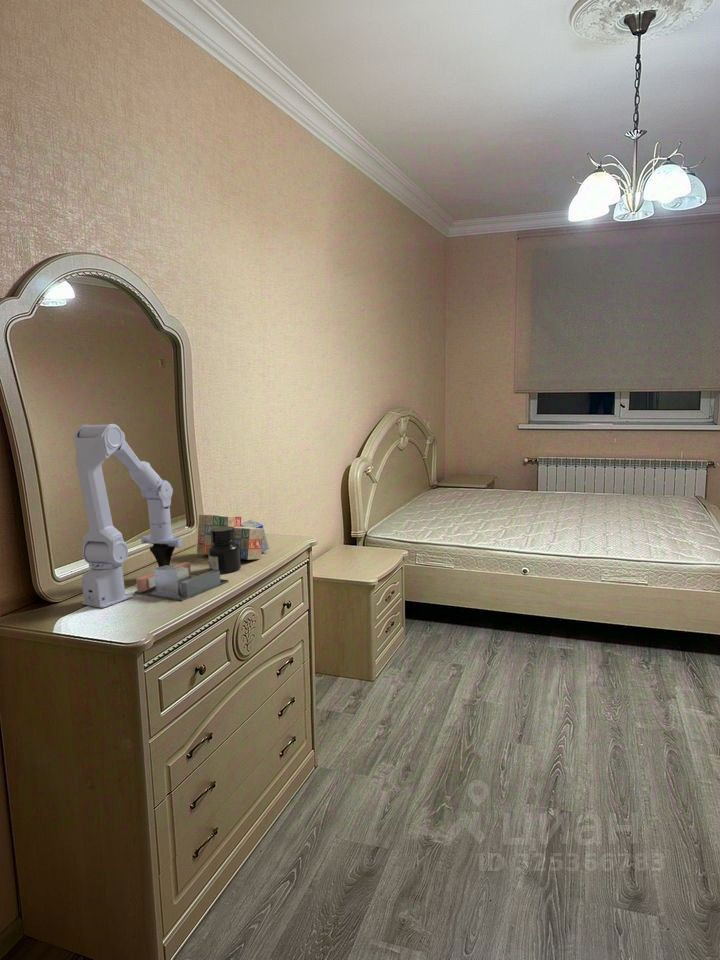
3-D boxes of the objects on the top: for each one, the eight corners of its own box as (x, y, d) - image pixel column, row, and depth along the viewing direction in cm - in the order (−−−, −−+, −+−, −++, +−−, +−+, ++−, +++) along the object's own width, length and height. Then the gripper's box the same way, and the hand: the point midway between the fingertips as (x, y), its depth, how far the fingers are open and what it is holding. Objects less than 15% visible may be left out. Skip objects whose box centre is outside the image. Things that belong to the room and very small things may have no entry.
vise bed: (181, 601, 165) (180, 585, 164) (135, 593, 173) (133, 578, 172) (228, 582, 179) (227, 567, 178) (183, 575, 187) (181, 561, 187)
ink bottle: (211, 566, 196) (207, 526, 194) (241, 564, 197) (238, 524, 195) (208, 575, 186) (205, 533, 184) (240, 572, 187) (237, 531, 186)
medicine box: (245, 548, 212) (238, 524, 209) (257, 542, 215) (250, 518, 212) (257, 555, 206) (250, 530, 203) (270, 548, 209) (263, 524, 206)
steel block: (178, 595, 168) (176, 572, 167) (156, 591, 172) (154, 569, 171) (190, 590, 171) (188, 568, 170) (167, 587, 175) (165, 565, 174)
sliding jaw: (143, 591, 171) (142, 579, 171) (137, 590, 172) (136, 578, 172) (191, 574, 186) (190, 562, 185) (185, 573, 187) (184, 562, 186)
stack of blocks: (261, 559, 201) (264, 518, 202) (247, 560, 196) (250, 518, 196) (210, 552, 213) (213, 513, 213) (196, 553, 208) (198, 513, 208)
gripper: (189, 521, 185) (194, 568, 187) (152, 518, 192) (157, 564, 194) (170, 526, 179) (175, 575, 181) (133, 523, 186) (138, 570, 188)
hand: (164, 570), depth 187 cm, fingers closed
